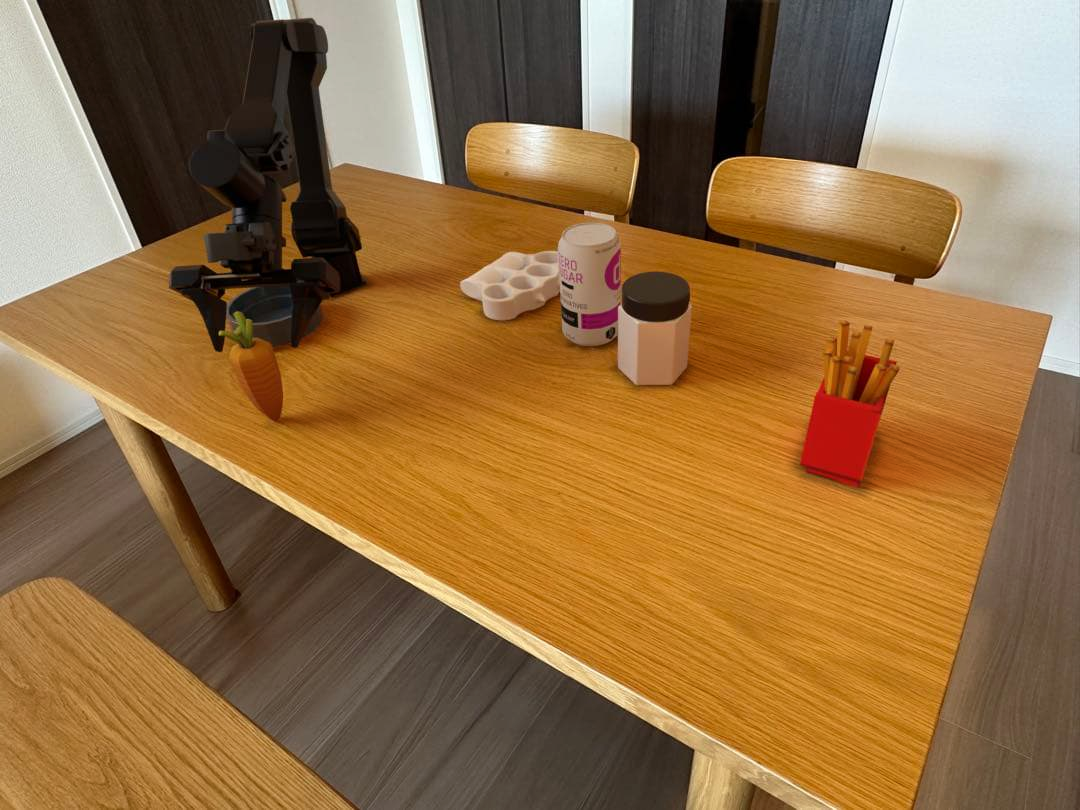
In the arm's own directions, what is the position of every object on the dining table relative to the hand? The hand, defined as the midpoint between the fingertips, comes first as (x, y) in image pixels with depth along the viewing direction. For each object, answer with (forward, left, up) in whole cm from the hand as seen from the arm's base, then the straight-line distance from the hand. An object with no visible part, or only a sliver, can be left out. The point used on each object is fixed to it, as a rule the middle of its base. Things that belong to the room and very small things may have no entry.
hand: (256, 349), depth 82 cm
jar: (-41, +25, -10) cm, 49 cm away
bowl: (-8, -21, -10) cm, 24 cm away
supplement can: (-41, +13, -10) cm, 44 cm away
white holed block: (-41, -4, -10) cm, 42 cm away
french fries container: (-44, +50, -10) cm, 67 cm away
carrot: (+1, +1, -10) cm, 10 cm away
